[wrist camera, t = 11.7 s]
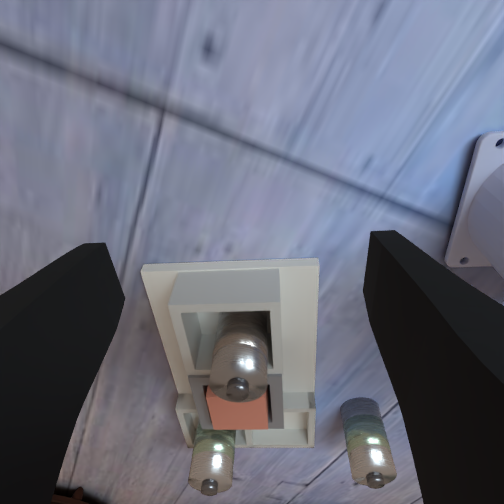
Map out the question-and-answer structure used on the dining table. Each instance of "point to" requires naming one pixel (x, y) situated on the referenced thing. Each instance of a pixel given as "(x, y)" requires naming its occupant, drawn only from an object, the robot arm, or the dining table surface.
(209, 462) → the cell
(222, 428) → the pad
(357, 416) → the cell
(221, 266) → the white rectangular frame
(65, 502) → the wooden thread spool stand
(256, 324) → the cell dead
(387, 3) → the dining table surface
